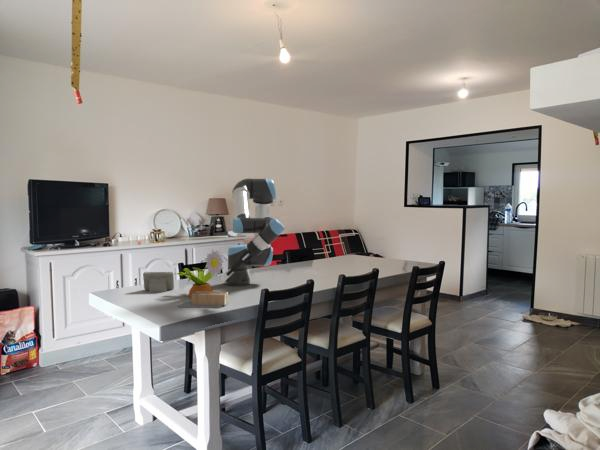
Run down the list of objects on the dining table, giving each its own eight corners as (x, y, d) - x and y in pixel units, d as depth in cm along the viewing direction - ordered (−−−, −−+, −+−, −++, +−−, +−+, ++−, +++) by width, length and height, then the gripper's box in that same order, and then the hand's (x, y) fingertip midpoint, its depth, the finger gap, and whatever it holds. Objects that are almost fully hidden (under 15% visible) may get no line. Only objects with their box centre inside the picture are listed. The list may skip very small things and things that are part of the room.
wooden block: (227, 301, 211) (195, 301, 211) (228, 291, 211) (195, 291, 211) (225, 305, 204) (191, 304, 204) (225, 294, 204) (191, 294, 204)
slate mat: (186, 300, 214) (186, 299, 214) (225, 301, 214) (225, 300, 214) (178, 307, 201) (178, 306, 201) (220, 307, 201) (220, 307, 201)
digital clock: (175, 289, 241) (175, 270, 240) (170, 292, 232) (170, 273, 231) (147, 288, 241) (147, 269, 241) (140, 292, 232) (140, 272, 232)
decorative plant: (200, 302, 210) (200, 252, 209) (165, 296, 222) (165, 248, 221) (234, 292, 234) (235, 247, 232) (201, 287, 246) (201, 244, 244)
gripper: (261, 252, 199) (225, 287, 200) (264, 249, 212) (230, 282, 213) (250, 241, 199) (214, 276, 200) (253, 238, 212) (220, 271, 213)
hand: (222, 279), depth 207 cm, fingers closed
